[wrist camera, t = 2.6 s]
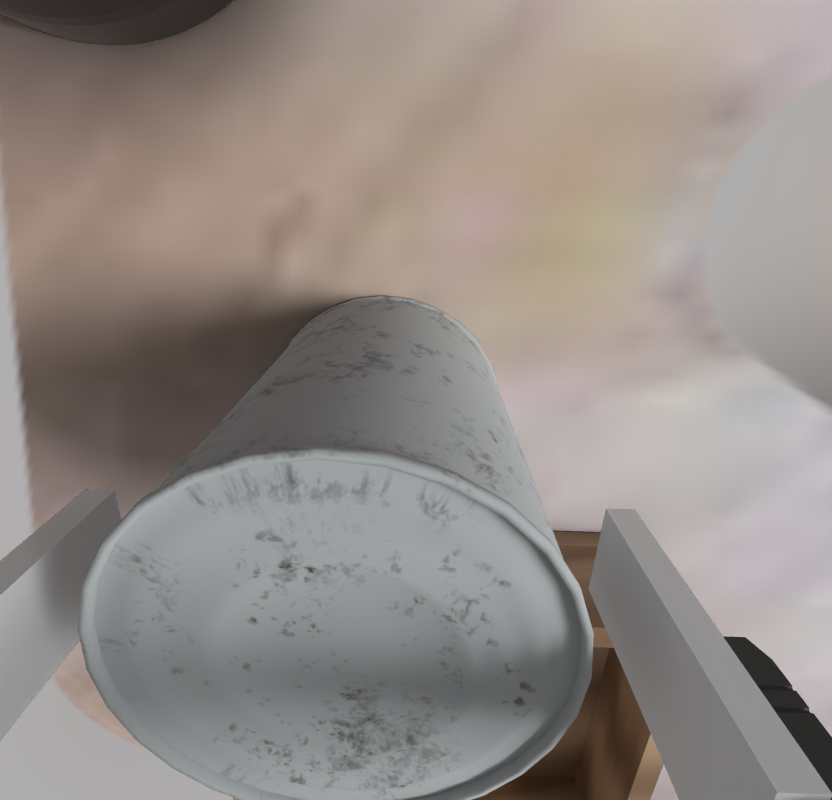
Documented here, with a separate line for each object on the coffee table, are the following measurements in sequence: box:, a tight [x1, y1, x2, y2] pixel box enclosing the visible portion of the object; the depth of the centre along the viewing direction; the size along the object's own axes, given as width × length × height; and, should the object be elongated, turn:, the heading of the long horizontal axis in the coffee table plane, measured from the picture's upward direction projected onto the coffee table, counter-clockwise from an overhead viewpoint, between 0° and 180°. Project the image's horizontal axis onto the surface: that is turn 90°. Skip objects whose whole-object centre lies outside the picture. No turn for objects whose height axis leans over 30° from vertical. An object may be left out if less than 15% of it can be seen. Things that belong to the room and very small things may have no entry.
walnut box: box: [233, 531, 664, 800], centre depth 24 cm, size 18×19×6 cm
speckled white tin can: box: [78, 296, 594, 800], centre depth 15 cm, size 10×10×12 cm
